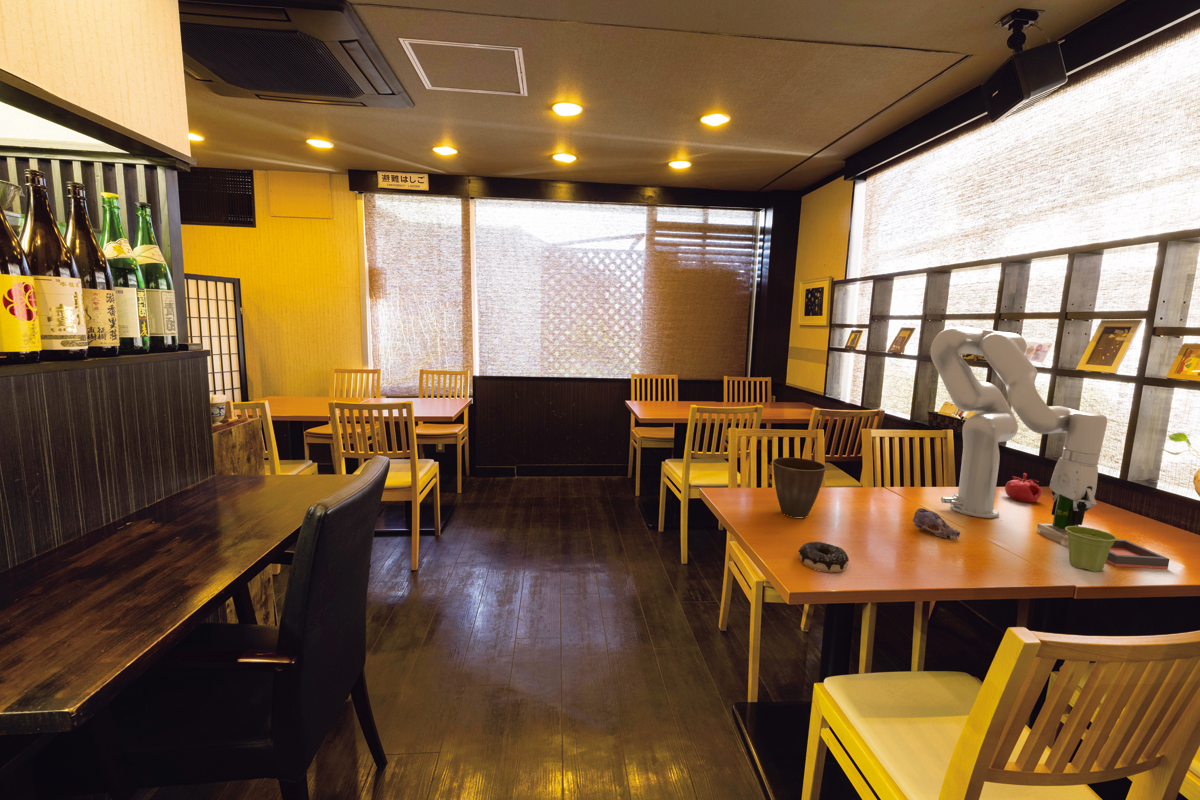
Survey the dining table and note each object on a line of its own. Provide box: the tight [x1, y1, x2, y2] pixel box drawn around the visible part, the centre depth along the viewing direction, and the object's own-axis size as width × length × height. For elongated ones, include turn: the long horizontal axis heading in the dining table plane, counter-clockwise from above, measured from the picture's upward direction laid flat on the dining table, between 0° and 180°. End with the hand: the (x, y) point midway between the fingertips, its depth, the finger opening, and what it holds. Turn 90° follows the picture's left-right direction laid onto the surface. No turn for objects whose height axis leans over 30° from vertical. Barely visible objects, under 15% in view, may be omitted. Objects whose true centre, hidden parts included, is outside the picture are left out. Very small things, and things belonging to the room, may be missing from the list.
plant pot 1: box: [772, 457, 827, 518], centre depth 161 cm, size 15×15×16 cm
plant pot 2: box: [1065, 525, 1118, 572], centre depth 130 cm, size 9×9×9 cm
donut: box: [798, 541, 850, 573], centre depth 128 cm, size 11×12×4 cm
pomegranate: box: [1004, 472, 1043, 504], centre depth 183 cm, size 10×10×9 cm
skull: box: [912, 507, 961, 540], centre depth 150 cm, size 12×8×6 cm, turn 21°
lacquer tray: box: [1105, 538, 1170, 570], centre depth 137 cm, size 12×12×3 cm
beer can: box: [1051, 494, 1083, 532], centre depth 148 cm, size 5×5×12 cm
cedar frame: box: [1036, 523, 1069, 547], centre depth 148 cm, size 10×10×2 cm
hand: (1066, 519), depth 149 cm, fingers closed on beer can, 5 cm apart
